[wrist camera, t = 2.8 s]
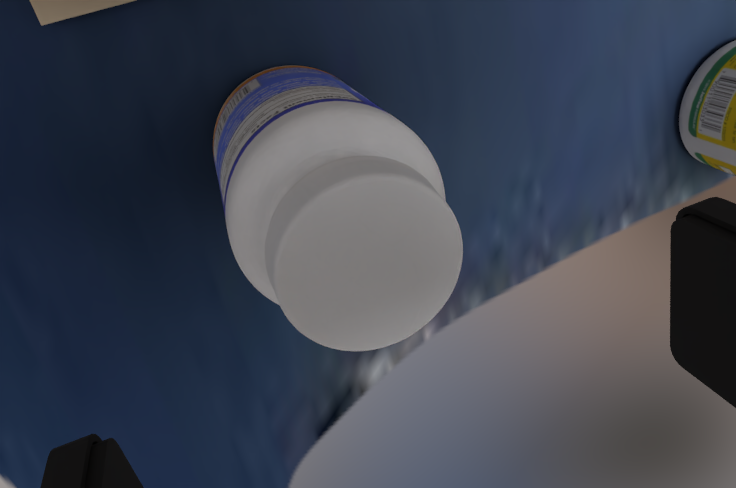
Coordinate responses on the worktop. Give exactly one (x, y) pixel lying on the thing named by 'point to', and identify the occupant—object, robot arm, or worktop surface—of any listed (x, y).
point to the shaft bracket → (69, 8)
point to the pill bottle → (334, 209)
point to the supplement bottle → (712, 111)
